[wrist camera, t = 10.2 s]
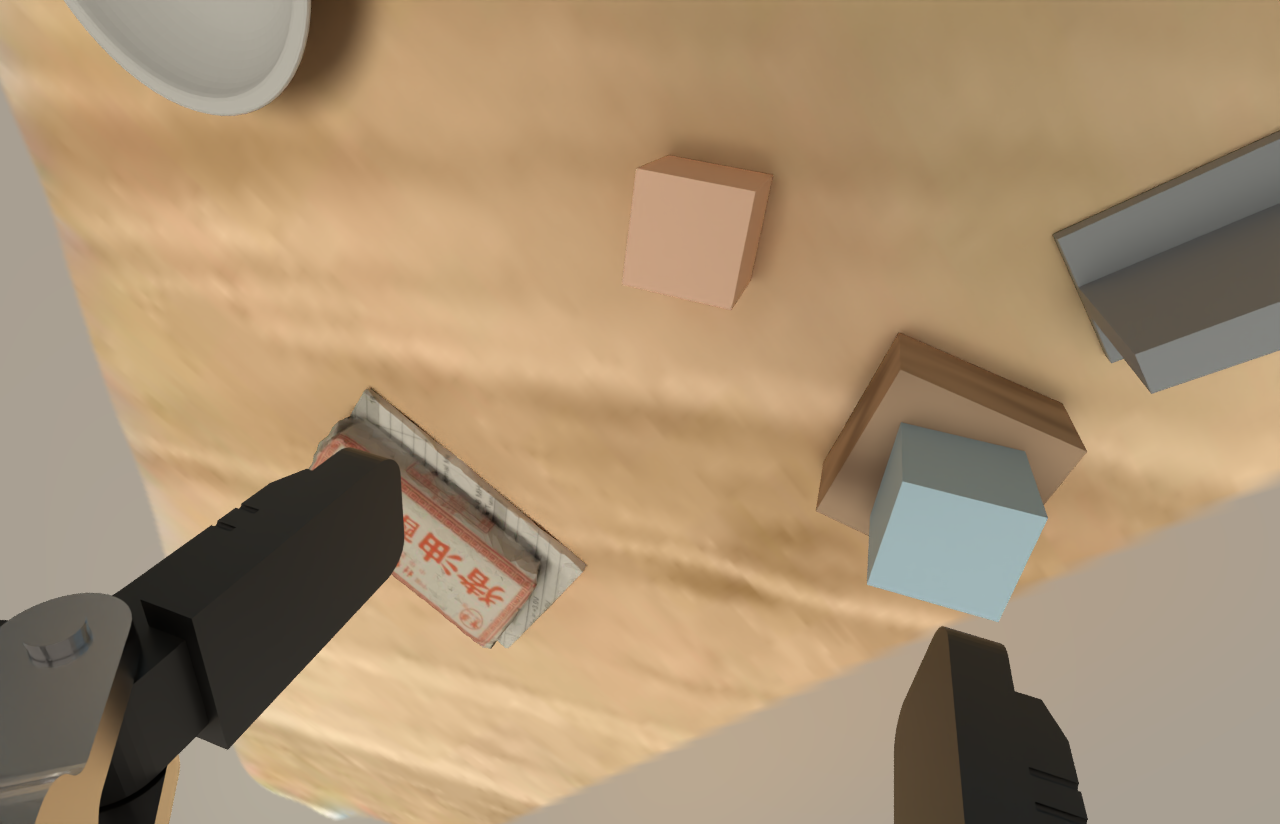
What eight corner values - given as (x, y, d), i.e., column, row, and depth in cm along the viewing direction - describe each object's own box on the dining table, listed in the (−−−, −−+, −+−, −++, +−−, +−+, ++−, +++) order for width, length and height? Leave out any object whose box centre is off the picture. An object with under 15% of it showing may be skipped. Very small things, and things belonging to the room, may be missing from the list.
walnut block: (898, 330, 34) (900, 369, 30) (1061, 400, 33) (1087, 451, 29) (824, 460, 38) (815, 510, 34) (966, 526, 37) (977, 586, 33)
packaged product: (270, 512, 46) (323, 413, 41) (321, 475, 50) (375, 382, 45) (485, 685, 47) (563, 609, 42) (518, 635, 51) (592, 560, 46)
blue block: (900, 422, 30) (902, 481, 26) (1024, 451, 29) (1047, 517, 25) (870, 516, 33) (866, 584, 29) (984, 546, 32) (998, 622, 27)
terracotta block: (668, 154, 33) (636, 168, 29) (773, 174, 32) (755, 191, 28) (654, 258, 36) (621, 284, 32) (751, 279, 35) (731, 310, 30)
